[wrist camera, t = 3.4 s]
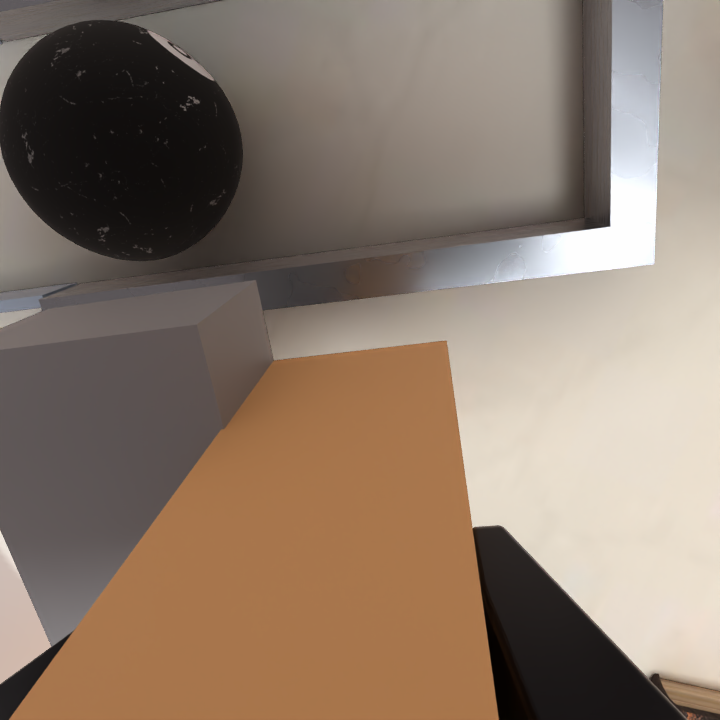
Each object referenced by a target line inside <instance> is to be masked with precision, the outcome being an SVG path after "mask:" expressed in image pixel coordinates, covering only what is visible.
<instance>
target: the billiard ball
mask: <svg viewBox="0 0 720 720" xmlns="http://www.w3.org/2000/svg"><path fill="white" fill-rule="evenodd" d="M0 147H1V151H2V156H3V159H4V162H5V165H6V168H7V171H8V173H9V175H10V177H11V179H12V181H13V183H14V185H15V187H16V188H17V190H18V191H19V193H20V195H21V196H22V197H23V199H24V200H25V201H26V203H27V204H28V205H29V207H30V208H31V209H32V210H33V211H34V212H35V213H36V214H37V215H38V216H39V217H40V218H41V219H42V220H43V221H44V222H45V223H46V224H47V225H48V226H50V227H51V228H52V229H54V230H55V231H56V232H57V233H59V234H60V235H62V236H63V237H65V238H66V239H68V240H70V241H72V242H74V243H75V244H77V245H79V246H81V247H83V248H86V249H88V250H90V251H93V252H96V253H98V254H101V255H105V256H108V257H112V258H116V259H122V260H130V261H149V260H157V259H162V258H166V257H169V256H172V255H175V254H178V253H180V252H182V251H184V250H186V249H188V248H189V247H191V246H192V245H194V244H196V243H197V242H198V241H200V240H201V239H202V238H203V237H204V236H206V235H207V234H208V233H209V232H210V231H211V230H212V229H213V228H214V227H215V225H216V224H217V223H218V222H219V221H220V219H221V218H222V217H223V215H224V214H225V212H226V210H227V209H228V207H229V205H230V203H231V201H232V199H233V197H234V195H235V192H236V189H237V187H238V183H239V179H240V175H241V169H242V159H243V149H242V139H241V133H240V129H239V124H238V122H237V119H236V116H235V113H234V111H233V109H232V107H231V105H230V103H229V101H228V99H227V98H226V96H225V94H224V92H223V91H222V89H221V88H220V87H219V85H218V84H217V82H216V81H215V80H214V79H213V77H212V76H211V75H210V74H209V73H208V72H207V71H206V70H205V69H204V68H203V67H202V66H201V65H200V64H199V63H198V62H197V61H196V60H195V59H194V58H193V57H191V56H190V55H189V54H188V53H187V52H185V51H184V50H183V49H181V48H180V47H178V46H177V45H175V44H174V43H172V42H170V41H169V40H167V39H165V38H164V37H162V36H160V35H158V34H156V33H154V32H152V31H149V30H147V29H144V28H141V27H139V26H136V25H132V24H128V23H124V22H118V21H111V20H90V21H82V22H78V23H74V24H71V25H67V26H65V27H62V28H60V29H58V30H56V31H54V32H52V33H51V34H49V35H47V36H45V37H44V38H43V39H41V40H40V41H39V42H37V43H36V44H35V45H34V46H33V47H32V48H31V49H30V50H29V51H28V52H27V53H26V54H25V55H24V57H23V58H22V59H21V60H20V61H19V63H18V64H17V66H16V67H15V69H14V70H13V72H12V74H11V76H10V77H9V79H8V82H7V84H6V87H5V90H4V93H3V97H2V101H1V106H0Z"/></svg>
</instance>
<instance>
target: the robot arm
mask: <svg viewBox="0 0 720 720" xmlns="http://www.w3.org/2000/svg"><path fill="white" fill-rule="evenodd" d="M473 536H474V543H475V551H476V558H477V565H478V572H479V580H480V587H481V594H482V601H483V609H484V616H485V623H486V630H487V638H488V645H489V652H490V659H491V667H492V674H493V681H494V688H495V696H496V703H497V710H498V717H499V720H688V719H687V718H686V717H685V716H684V715H683V714H682V713H681V712H680V711H679V710H678V709H677V708H676V707H675V706H674V705H673V704H672V703H671V702H670V701H669V699H668V698H667V697H666V696H665V695H664V694H663V693H662V692H661V691H660V690H659V689H658V688H657V687H656V686H655V685H654V684H653V683H652V682H651V681H650V680H649V679H648V678H647V676H646V675H645V674H644V673H643V672H642V671H641V670H640V669H639V668H638V667H637V666H636V665H635V664H634V663H633V662H632V661H631V660H630V659H629V658H628V657H627V656H626V655H625V653H624V652H623V651H622V650H621V649H620V648H619V647H618V646H617V645H616V644H615V643H614V642H613V641H612V640H611V639H610V638H609V637H608V636H607V635H606V634H605V633H604V632H603V631H602V629H601V628H600V627H599V626H598V625H597V624H596V623H595V622H594V621H593V620H592V619H591V618H590V617H589V616H588V615H587V614H586V613H585V612H584V611H583V610H582V609H581V608H580V606H579V605H578V604H577V603H576V602H575V601H574V600H573V599H572V598H571V597H570V596H569V595H568V594H567V593H566V592H565V591H564V590H563V589H562V588H561V587H560V586H559V585H558V583H557V582H556V581H555V580H554V579H553V578H552V577H551V576H550V575H549V574H548V573H547V572H546V571H545V570H544V569H543V568H542V567H541V566H540V565H539V564H538V563H537V562H536V560H535V559H534V558H533V557H532V556H531V555H530V554H529V553H528V552H527V551H526V550H525V549H524V548H523V547H522V546H521V545H520V544H519V543H518V542H517V541H516V540H515V539H514V538H513V536H512V535H511V534H510V533H509V532H508V531H507V530H506V529H505V528H504V527H502V526H499V525H496V526H482V527H474V528H473ZM72 633H73V631H72V632H71V633H70V634H68V635H67V636H66V637H64V638H63V639H61V640H60V641H59V642H57V643H56V644H55V645H53V646H52V647H51V648H49V649H48V650H46V651H45V652H44V653H42V654H41V655H40V656H38V657H37V658H35V659H34V660H33V661H31V662H30V663H29V664H27V665H26V666H24V667H23V668H22V669H20V671H18V672H16V673H15V674H14V675H12V676H11V677H9V678H8V679H7V680H5V681H4V682H3V683H1V684H0V720H9V719H10V718H11V716H12V715H13V713H14V712H15V711H16V709H17V708H18V707H19V705H20V704H21V703H22V701H23V700H24V698H25V697H26V696H27V694H28V693H29V692H30V690H31V689H32V687H33V686H34V685H35V683H36V682H37V681H38V679H39V678H40V677H41V675H42V674H43V672H44V671H45V670H46V668H47V667H48V666H49V664H50V663H51V661H52V660H53V659H54V657H55V656H56V655H57V653H58V652H59V651H60V649H61V648H62V646H63V645H64V644H65V642H66V641H67V640H68V638H69V637H70V635H71V634H72Z"/></svg>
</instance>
